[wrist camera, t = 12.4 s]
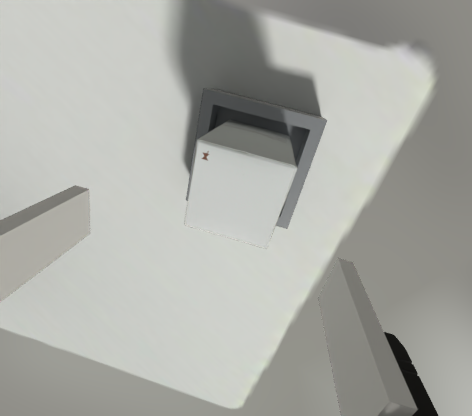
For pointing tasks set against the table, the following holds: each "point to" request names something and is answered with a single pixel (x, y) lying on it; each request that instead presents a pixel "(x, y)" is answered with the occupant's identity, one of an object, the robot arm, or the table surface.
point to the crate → (271, 118)
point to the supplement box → (240, 182)
